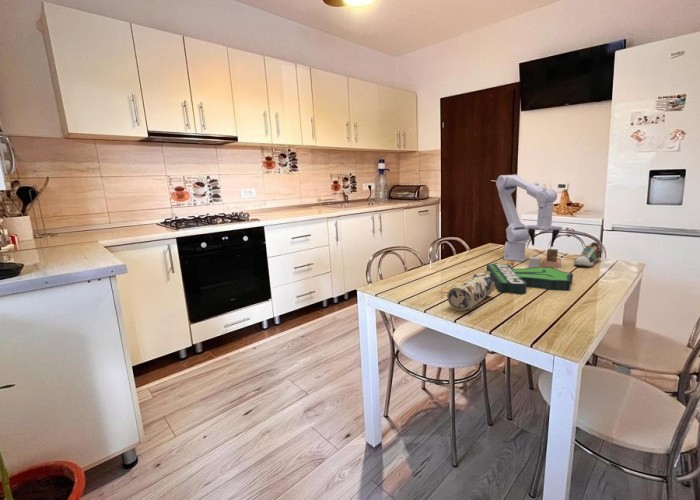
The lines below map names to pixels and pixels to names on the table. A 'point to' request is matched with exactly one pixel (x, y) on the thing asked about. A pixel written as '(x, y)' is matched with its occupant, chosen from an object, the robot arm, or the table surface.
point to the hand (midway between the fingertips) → (542, 245)
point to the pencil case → (470, 291)
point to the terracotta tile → (551, 263)
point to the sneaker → (588, 255)
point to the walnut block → (552, 255)
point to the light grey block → (534, 262)
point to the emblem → (528, 278)
